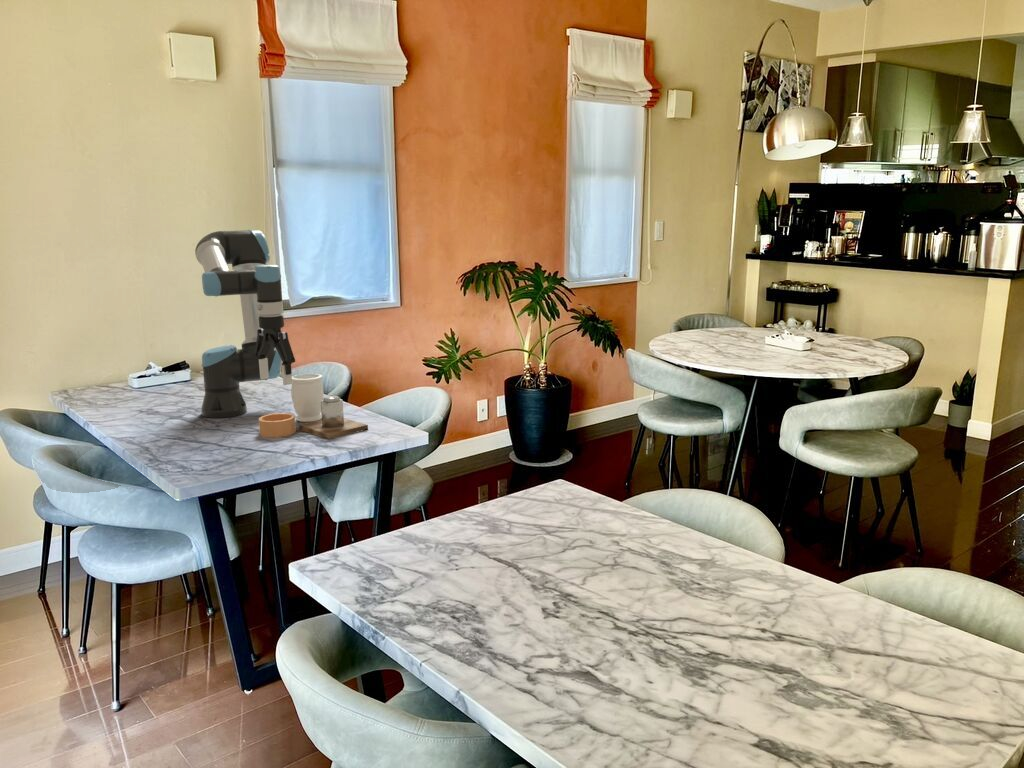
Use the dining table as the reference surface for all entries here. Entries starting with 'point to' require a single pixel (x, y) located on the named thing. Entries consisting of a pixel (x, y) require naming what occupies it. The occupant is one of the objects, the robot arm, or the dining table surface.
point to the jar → (307, 396)
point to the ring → (277, 425)
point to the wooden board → (330, 433)
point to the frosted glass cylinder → (332, 412)
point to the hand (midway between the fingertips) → (276, 381)
